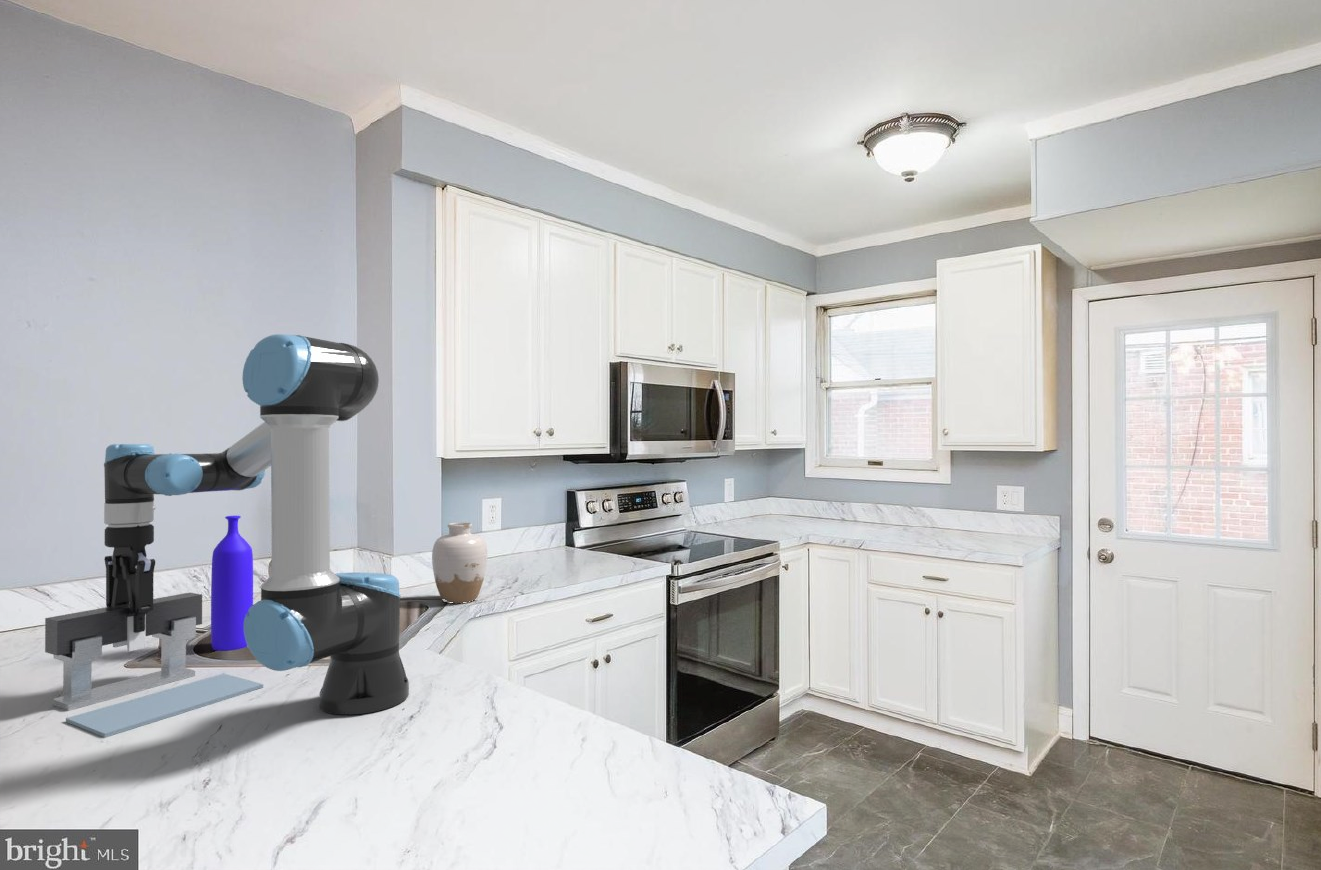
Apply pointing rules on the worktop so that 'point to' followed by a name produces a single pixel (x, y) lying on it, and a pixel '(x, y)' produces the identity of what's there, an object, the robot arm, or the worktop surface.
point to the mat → (162, 704)
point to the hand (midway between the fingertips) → (129, 646)
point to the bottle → (231, 589)
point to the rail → (117, 622)
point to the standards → (79, 680)
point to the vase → (459, 563)
